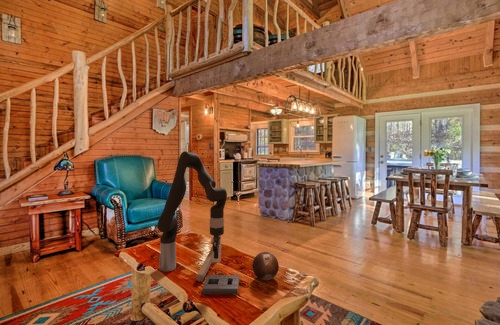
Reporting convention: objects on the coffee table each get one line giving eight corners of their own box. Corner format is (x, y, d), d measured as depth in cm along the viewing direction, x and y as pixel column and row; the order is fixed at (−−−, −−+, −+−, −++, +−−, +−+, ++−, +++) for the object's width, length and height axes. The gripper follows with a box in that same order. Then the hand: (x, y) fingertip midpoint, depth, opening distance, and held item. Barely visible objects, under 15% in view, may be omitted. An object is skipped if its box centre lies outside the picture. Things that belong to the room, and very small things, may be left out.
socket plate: (202, 294, 129) (202, 288, 128) (207, 280, 143) (207, 274, 142) (237, 294, 128) (237, 288, 128) (239, 280, 142) (239, 275, 142)
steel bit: (212, 262, 133) (212, 247, 133) (213, 258, 137) (213, 244, 137) (219, 262, 133) (220, 247, 133) (220, 259, 137) (221, 244, 137)
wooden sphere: (259, 288, 134) (259, 260, 134) (248, 275, 148) (248, 250, 147) (283, 282, 140) (283, 255, 140) (270, 270, 154) (270, 246, 153)
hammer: (202, 267, 138) (218, 236, 166) (194, 266, 139) (211, 236, 167) (204, 290, 142) (220, 257, 171) (197, 289, 143) (213, 256, 171)
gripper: (212, 221, 141) (211, 251, 142) (207, 229, 127) (207, 262, 128) (225, 221, 141) (225, 251, 142) (222, 229, 127) (221, 262, 128)
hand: (216, 256), depth 135 cm, fingers closed on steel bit, 4 cm apart
